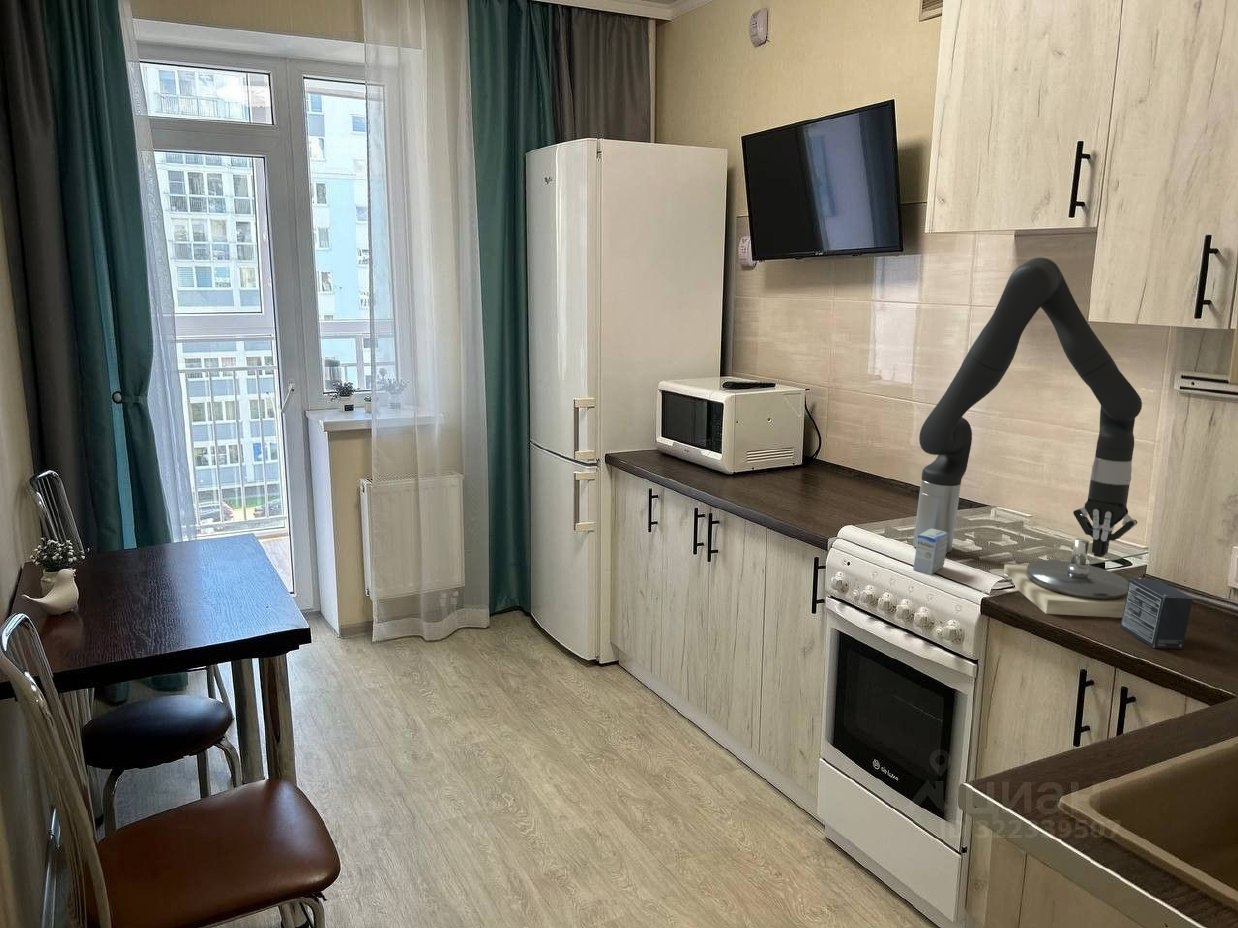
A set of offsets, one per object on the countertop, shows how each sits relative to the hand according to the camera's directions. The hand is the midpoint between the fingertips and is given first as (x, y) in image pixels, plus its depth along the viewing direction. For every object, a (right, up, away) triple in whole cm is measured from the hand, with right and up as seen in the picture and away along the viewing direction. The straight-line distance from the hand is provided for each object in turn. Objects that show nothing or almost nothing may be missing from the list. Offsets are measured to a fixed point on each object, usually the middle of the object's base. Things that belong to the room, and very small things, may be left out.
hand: (1099, 556), depth 199 cm
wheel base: (-7, -9, -2) cm, 11 cm away
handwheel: (-7, -5, -3) cm, 9 cm away
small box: (-2, -14, -23) cm, 27 cm away
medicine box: (-34, -4, +11) cm, 36 cm away
